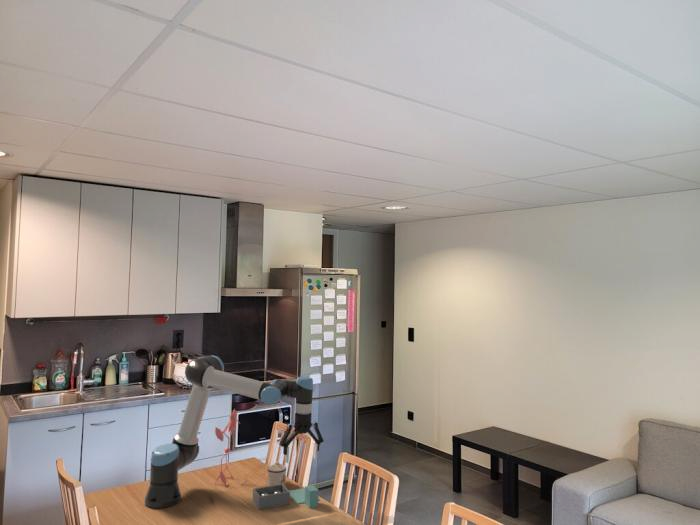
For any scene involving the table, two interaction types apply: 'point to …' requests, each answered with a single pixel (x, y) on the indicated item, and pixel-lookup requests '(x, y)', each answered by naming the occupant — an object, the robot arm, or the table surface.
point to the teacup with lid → (276, 474)
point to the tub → (271, 496)
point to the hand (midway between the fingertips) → (300, 460)
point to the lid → (306, 496)
